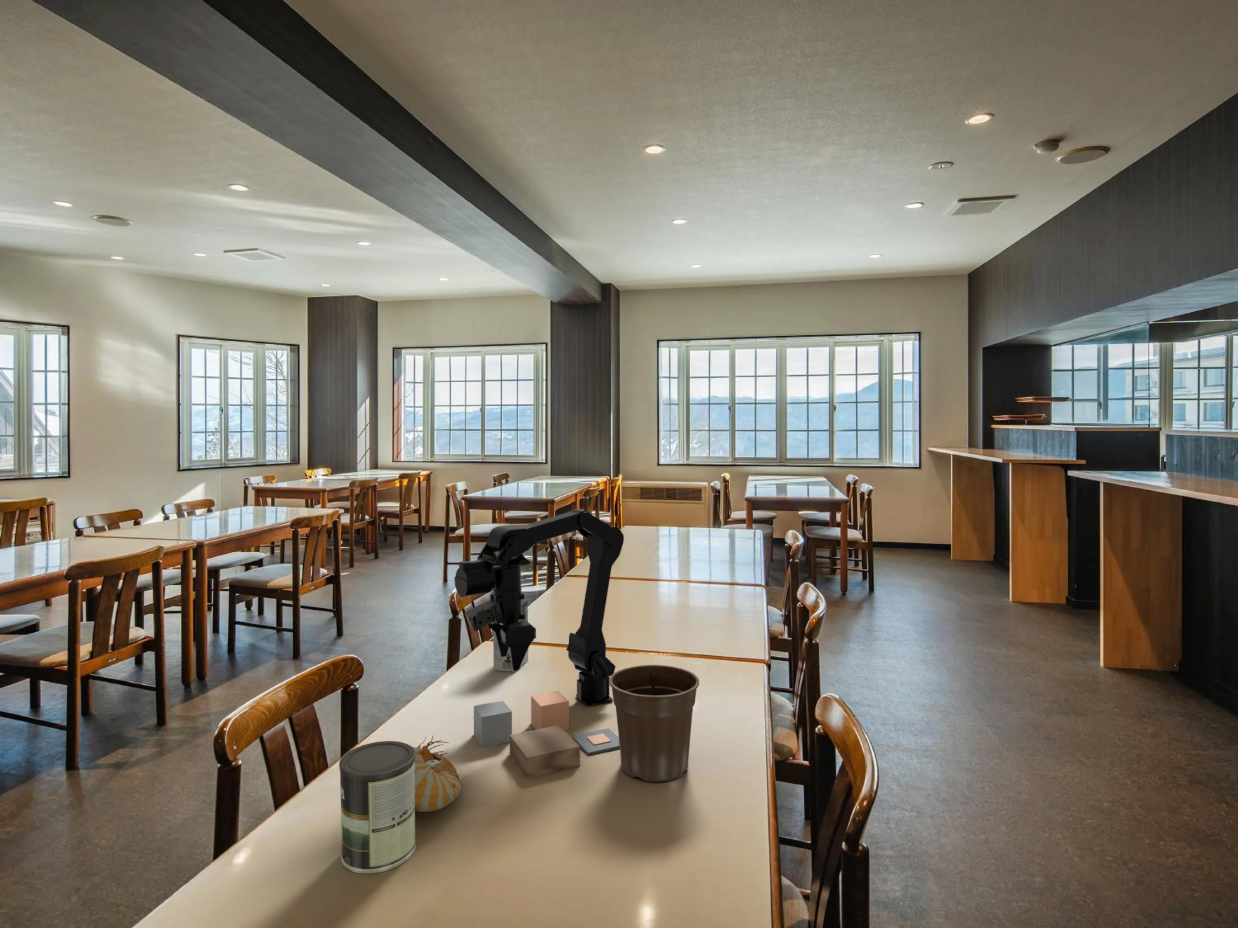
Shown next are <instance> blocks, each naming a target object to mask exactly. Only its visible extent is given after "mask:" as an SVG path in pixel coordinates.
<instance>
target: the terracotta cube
mask: <svg viewBox="0 0 1238 928" xmlns="http://www.w3.org/2000/svg"><path fill="white" fill-rule="evenodd" d="M530 725H532V727H533V728H534V730H537V729H542V728H547V727H552V726H557V725H560V726H561V727H562V728H563V729H564V730H565V731H567V730H570V701H569V699H567V698H566V697H565V695H563V694H562V693H561V692H560V691H559V690H557V691H550V692H545V693H539V694H538V693H537V694H533V695H531V696H530Z"/></svg>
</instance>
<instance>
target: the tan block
mask: <svg viewBox="0 0 1238 928" xmlns="http://www.w3.org/2000/svg"><path fill="white" fill-rule="evenodd" d="M580 749H581V747H580V746H579V745H578V744H577V743H576V742H575V741H574V740H573V739H572V736H571V735H569V734H568V732H567V730H564V729H563V728H562V727H561V726H560V725H557V726H552V727H547V728H542V729H537V730H536V729H534V730H533V729H532V730H529V731H523V732H518V733H512V735H510V742H509V755H510V757H511V758H512V759H513V761H514V762H515V763H516V765H517V766H518V767H519V769H520V770H521V772H522V774H523V775H524V776H525V777H526V778H527V779H529V778H533V777H534V778H535V777H537V776H543V775H546V774H550V773H556V772H558V771H559V772H560V771H563V770H567V769H571V768H576V767H580V765H581V763H580V761H581V754H580V753H581V750H580Z"/></svg>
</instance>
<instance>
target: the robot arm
mask: <svg viewBox="0 0 1238 928" xmlns="http://www.w3.org/2000/svg"><path fill="white" fill-rule="evenodd" d="M576 531H577V533H578V534H579V535H580V536H582V537H583V538H584V539H586V553H587V556H588V559H589V569H588V576H587V580H586V581H587V582H586V589H585V594H584V601H583V607H582V614H581V619H580V626H579V627H578V629H577V630H576V631H575V633H574V632H570V633H569V635H568V644H567V647H566V651H567V653H568V655H567V656H568V659H569V660H570V662H571V663H573V666H574V669H575V670H576V671H578V679H576V694H575V697H576V698H577V700H579V701H580V702H581V703H582V704H583V705H585V706H586V707H590V706H595V705H601V704H605V703H611V702H613V697H611V696H610V684H609V678H610V676H611V675H612V674H613V673H615V672H616V671H615V670H616V665H615V664H614V663H613V662H612V661H611V660H610V659H609V658H608V657H607V655H606V654H607V653H606V652H607V643H606V639H605V636H604V633H603V625H604V617H605V612H606V604H607V599H608V594H609V586H610V581H611V575H612V568H613V565H614V564H615V562H616V561H617V560H618V558H619V557H620V555H621V552H622V549H623V546H624V541H625V535H624V533H623V532H622V530H621V529H620V528H619V527H616V526H613V525H610V524H608V523H607V522H604V521H603V520H601V519H599V518H598V517H595V516H594V515H593V514H592V513H591V512H589V510H583V509H578V508H576V509H575V508H574V509H572V510H570V511H568V512H565V513H561V514H558V515H555V516H551V517H548V518H543V519H541V520H538V521H533V522H531V523H528V524H527V523H526V524H510V525H509V524H508V525H499V526H496V527H494V528H492V529H491V530H490V532H489V534H488V535H487V541H486V542H485V544H484V545H483V548H482V550H480V552H479V554H478V556H477V558H476V559H477V560H469V561H468V560H467V561H466V560H465V561H459V563H458V566H459V567H458V569H457V570H456V572H455V576H454V578H453V579H454V587H455V589H456V593H457V595H458V596H460V597H461V598H466V597H471V596H475V595H481V594H487V593H490V594H489V600H488V601H485V602H483V603H480V604H479V605H476V606H474V607H472V608H471V609H468V610H466V611H465V612H464V615H465V617H466V620H467V622H468V625H469V626H470V628H471V630H472V631H473V632H478V631H480V630H482V628H484V627H486V626H487V627H489V628H490V629H491V630H492V632H493V631H494V634H495V637H496V640H497V644H498V648H499V651H500V655H501V657H504V656H506V655H507V652H508V649H509V652H510V658H511V663H512V668H513V670H514V671H517V670H518V671H519V670H520V669H521V668H520V666H521V663H522V661H523V659H524V657H525V654H526V652H527V650H528V651H529V648H530V646H531V644H532V642H533V641H534V640H535V639H536V638H537V628H536V627H534V625H532V624H531V623H530V622H529V621H528V622H527V621H519V620H521V619H525V614H524V613H523V612H522V601H523V600H525V593H524V592H522V567H523V566H528V565H530V564H531V561H530V560H529V559H528V558H526V556H525V555H524V553H526V552H528V551H530V549H531V548H533V546H535V545H537V544H538V543H540V542H541V543H542V542H544V541H547V540H551V539H553V538H557V537H560V536H563V535H566V534H569V533H572V532H576ZM491 591H492V592H491ZM518 621H519V622H518ZM519 668H520V669H519ZM518 671H517V672H518Z"/></svg>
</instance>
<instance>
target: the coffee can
mask: <svg viewBox="0 0 1238 928" xmlns="http://www.w3.org/2000/svg"><path fill="white" fill-rule="evenodd" d="M413 747H414V746H412V745H410V744H409V743H405V742H402V741H395V740H382V741H375V742H369V743H365V744H363V745H360V746H357V747H354V748H353V749H351V750H349V751H348V752H346V753H345V754H344V755H342V757H341V758H340V760H339V762H338V764H339V765H338V767H339V769H338V770H339V777H340V779H339V780H340V781H339V782H340V787H339V788H340V827H341V831H340V832H341V836H340V838H341V855H340V861H341V863H342V866H344V868H345V869H347V870H348V871H350V872H352V873H355V874H360V875H361V874H362V875H371V874H378V873H384V872H388V871H391V870H392V869H394V868H397V867H399V866H401V865H403V863H405V862H407V861H408V860H409V859H410V858H411V857H412V856H413V854H414V853H415V850H416V848H417V845H416V844H417V843H416V842H417V841H416V812H415V776H414V760H415V750H414V748H413Z"/></svg>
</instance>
